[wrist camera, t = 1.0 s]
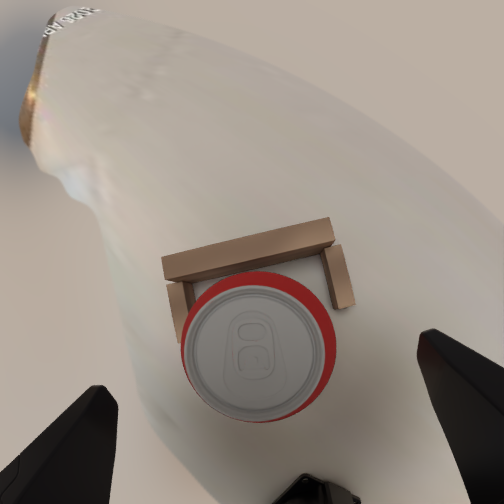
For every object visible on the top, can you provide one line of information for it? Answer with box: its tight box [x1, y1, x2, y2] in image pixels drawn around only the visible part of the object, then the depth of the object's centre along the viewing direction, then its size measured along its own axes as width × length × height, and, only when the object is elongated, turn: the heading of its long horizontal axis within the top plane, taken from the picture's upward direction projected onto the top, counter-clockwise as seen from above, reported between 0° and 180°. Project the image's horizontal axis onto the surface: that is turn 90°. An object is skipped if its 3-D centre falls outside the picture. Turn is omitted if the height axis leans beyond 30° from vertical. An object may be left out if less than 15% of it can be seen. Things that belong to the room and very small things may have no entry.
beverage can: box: [181, 271, 336, 423], centre depth 17 cm, size 7×7×12 cm
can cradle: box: [161, 217, 356, 343], centre depth 21 cm, size 6×12×4 cm, turn 102°
